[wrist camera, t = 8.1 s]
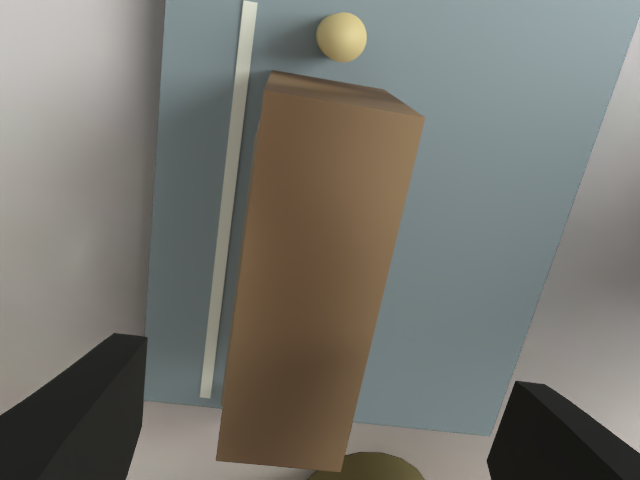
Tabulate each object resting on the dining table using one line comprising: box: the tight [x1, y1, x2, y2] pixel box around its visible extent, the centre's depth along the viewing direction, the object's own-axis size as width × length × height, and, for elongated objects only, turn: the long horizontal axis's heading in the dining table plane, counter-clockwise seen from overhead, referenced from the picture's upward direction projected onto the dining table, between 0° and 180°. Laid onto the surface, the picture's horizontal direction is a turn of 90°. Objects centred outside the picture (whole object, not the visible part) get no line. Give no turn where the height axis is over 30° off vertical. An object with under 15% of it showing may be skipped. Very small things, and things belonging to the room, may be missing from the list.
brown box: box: [216, 70, 425, 472], centre depth 16 cm, size 4×10×6 cm, turn 170°
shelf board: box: [144, 0, 640, 436], centre depth 17 cm, size 14×23×4 cm, turn 170°
